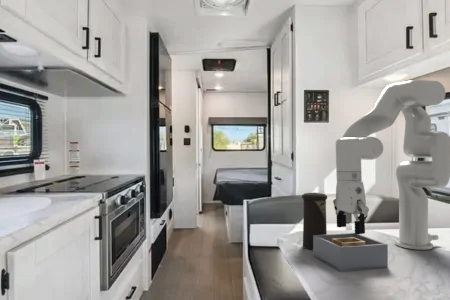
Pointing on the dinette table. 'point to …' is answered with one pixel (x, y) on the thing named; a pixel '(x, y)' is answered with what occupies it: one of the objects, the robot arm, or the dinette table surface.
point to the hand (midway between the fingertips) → (350, 230)
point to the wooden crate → (348, 242)
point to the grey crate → (350, 253)
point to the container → (313, 217)
